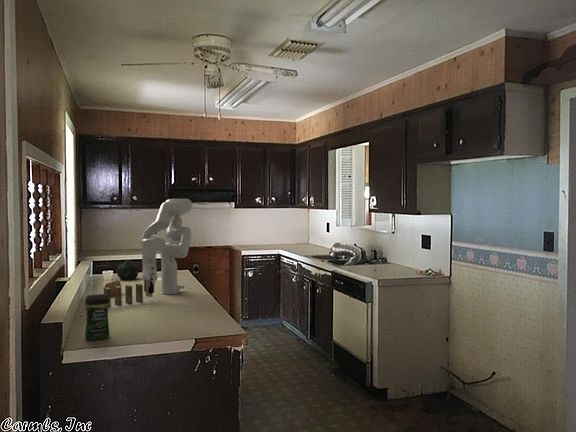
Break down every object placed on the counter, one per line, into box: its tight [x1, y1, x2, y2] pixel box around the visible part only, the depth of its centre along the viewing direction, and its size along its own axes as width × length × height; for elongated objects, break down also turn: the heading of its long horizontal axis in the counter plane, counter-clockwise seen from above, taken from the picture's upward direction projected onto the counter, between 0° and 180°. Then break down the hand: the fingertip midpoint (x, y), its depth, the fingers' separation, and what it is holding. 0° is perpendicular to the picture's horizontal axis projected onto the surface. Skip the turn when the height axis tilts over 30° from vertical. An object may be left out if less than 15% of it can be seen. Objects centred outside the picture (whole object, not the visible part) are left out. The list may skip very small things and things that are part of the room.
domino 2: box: [114, 286, 123, 306], centre depth 268 cm, size 2×5×10 cm, turn 39°
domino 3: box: [124, 284, 133, 304], centre depth 272 cm, size 2×5×10 cm, turn 39°
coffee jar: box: [84, 293, 110, 341], centre depth 207 cm, size 10×8×19 cm
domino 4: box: [135, 283, 144, 303], centre depth 276 cm, size 2×5×10 cm, turn 39°
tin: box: [103, 280, 122, 297], centre depth 297 cm, size 15×3×8 cm, turn 168°
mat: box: [108, 297, 160, 310], centre depth 271 cm, size 32×12×1 cm, turn 129°
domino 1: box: [103, 286, 112, 307], centre depth 264 cm, size 2×5×10 cm, turn 39°
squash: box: [116, 259, 139, 281], centre depth 354 cm, size 14×15×15 cm
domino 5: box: [145, 280, 154, 298], centre depth 279 cm, size 2×5×10 cm, turn 39°
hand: (149, 292), depth 279 cm, fingers closed on domino 5, 4 cm apart
